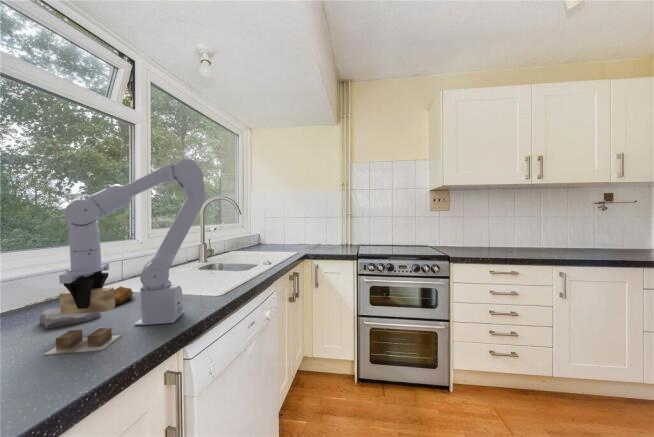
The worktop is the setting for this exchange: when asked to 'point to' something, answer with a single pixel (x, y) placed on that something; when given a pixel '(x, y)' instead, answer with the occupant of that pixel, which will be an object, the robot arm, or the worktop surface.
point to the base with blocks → (83, 341)
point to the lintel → (98, 302)
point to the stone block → (64, 318)
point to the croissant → (122, 295)
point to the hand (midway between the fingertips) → (88, 305)
